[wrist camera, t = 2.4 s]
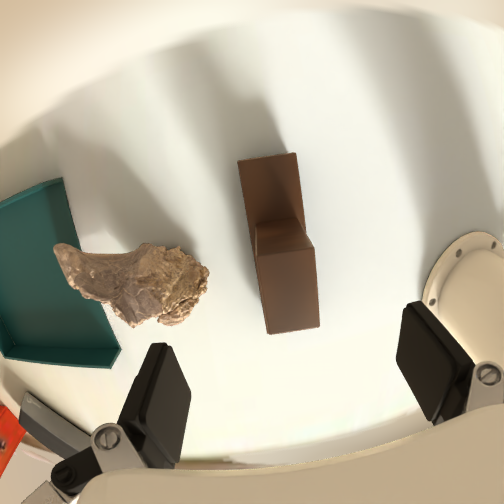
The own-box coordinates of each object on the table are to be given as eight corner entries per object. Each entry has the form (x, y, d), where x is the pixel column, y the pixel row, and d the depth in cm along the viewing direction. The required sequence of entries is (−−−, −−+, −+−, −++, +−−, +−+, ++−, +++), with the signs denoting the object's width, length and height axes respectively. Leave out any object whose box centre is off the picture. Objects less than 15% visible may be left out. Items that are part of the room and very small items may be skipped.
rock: (65, 217, 22) (17, 242, 16) (214, 247, 24) (201, 288, 17) (67, 274, 24) (27, 310, 18) (204, 308, 26) (191, 360, 19)
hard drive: (27, 387, 33) (16, 402, 29) (120, 451, 37) (114, 468, 33) (22, 410, 36) (13, 423, 32) (99, 463, 40) (94, 478, 37)
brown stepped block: (291, 152, 21) (314, 155, 13) (309, 311, 26) (329, 378, 18) (239, 159, 21) (229, 167, 13) (266, 318, 26) (270, 387, 18)
